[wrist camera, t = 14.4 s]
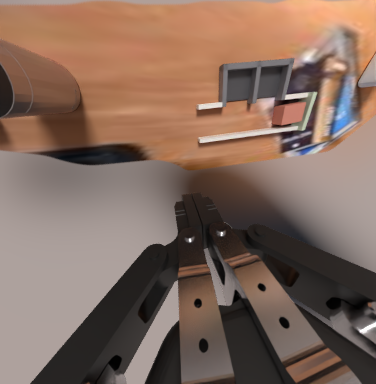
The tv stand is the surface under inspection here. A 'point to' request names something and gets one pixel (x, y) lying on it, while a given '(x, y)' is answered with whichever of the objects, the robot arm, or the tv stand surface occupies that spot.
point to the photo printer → (369, 75)
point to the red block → (288, 113)
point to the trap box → (257, 92)
